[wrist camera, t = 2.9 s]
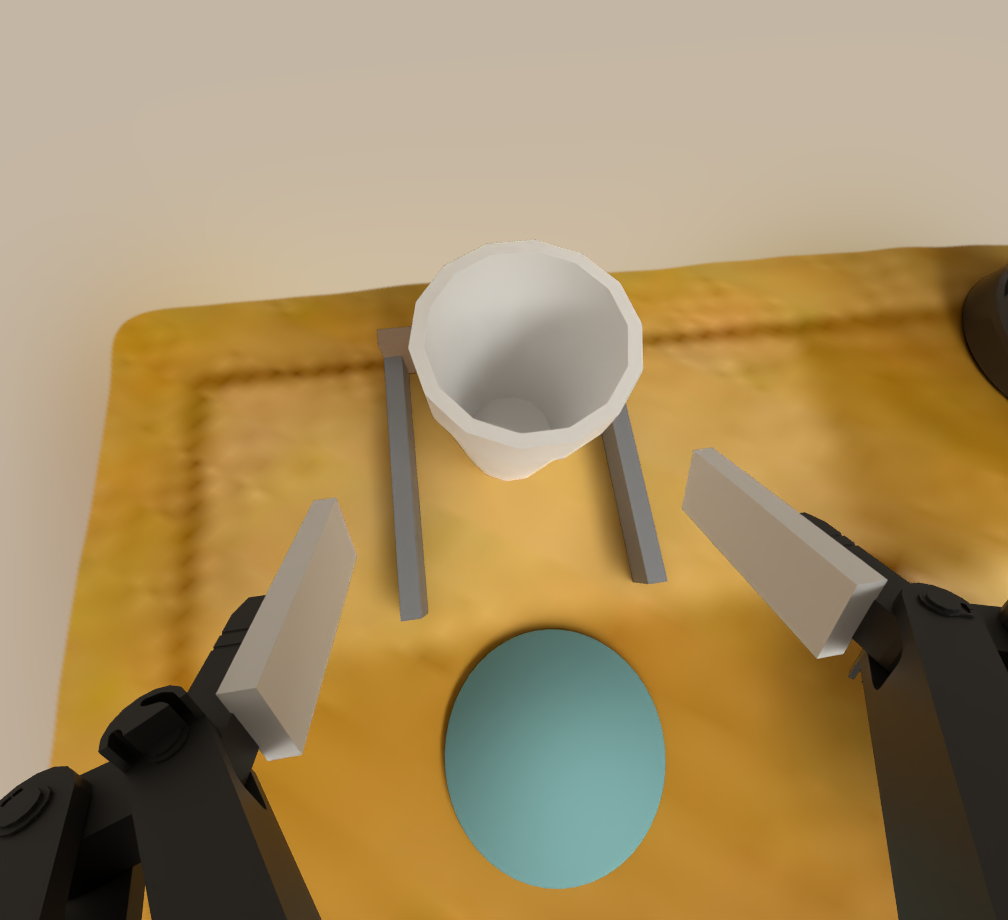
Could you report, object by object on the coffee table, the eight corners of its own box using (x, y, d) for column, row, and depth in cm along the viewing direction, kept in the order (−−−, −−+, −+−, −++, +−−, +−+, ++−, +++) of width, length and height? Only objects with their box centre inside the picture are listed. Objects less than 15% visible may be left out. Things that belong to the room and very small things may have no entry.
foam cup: (489, 528, 26) (492, 496, 14) (419, 421, 28) (365, 305, 15) (599, 455, 28) (691, 366, 15) (526, 358, 30) (555, 208, 17)
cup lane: (596, 340, 30) (613, 307, 26) (650, 579, 26) (679, 582, 22) (391, 360, 29) (376, 329, 25) (409, 615, 24) (394, 625, 21)
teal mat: (635, 614, 25) (637, 615, 25) (686, 857, 22) (690, 862, 21) (435, 646, 24) (434, 647, 24) (457, 905, 21) (457, 912, 20)
